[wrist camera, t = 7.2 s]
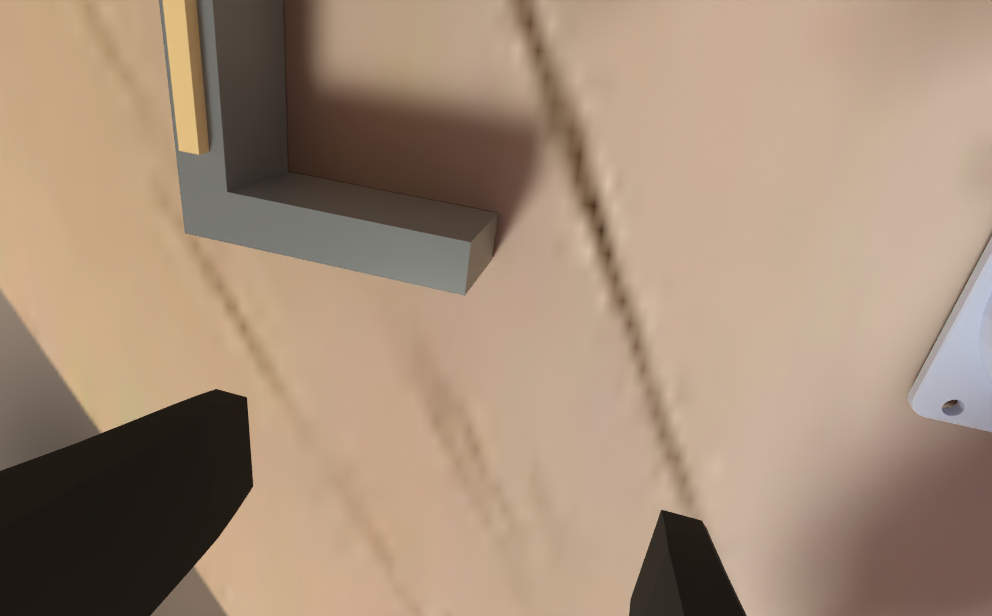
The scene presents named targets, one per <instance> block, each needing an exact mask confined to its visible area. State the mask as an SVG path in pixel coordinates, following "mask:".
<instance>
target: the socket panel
mask: <svg viewBox="0 0 992 616" xmlns="http://www.w3.org/2000/svg"><path fill="white" fill-rule="evenodd" d="M159 5H160V14H161V23H162V32H163V41H164V50H165V59H166V68H167V77H168V86H169V95H170V104H171V112H172V121H173V130H174V139H175V148H176V157H177V166H178V175H179V184H180V193H181V202H182V211H183V220H184V229H185V233H186V234H191V235H195V236H200V237H204V238H209V239H213V240H218V241H222V242H227V243H231V244H236V245H240V246H245V247H249V248H254V249H258V250H263V251H267V252H272V253H276V254H281V255H285V256H290V257H294V258H299V259H303V260H308V261H312V262H317V263H321V264H326V265H330V266H335V267H339V268H344V269H348V270H353V271H357V272H362V273H366V274H371V275H375V276H380V277H384V278H389V279H393V280H397V281H402V282H406V283H411V284H415V285H420V286H424V287H429V288H433V289H438V290H442V291H447V292H451V293H456V294H460V295H465V294H466V293H467V292H468V290H469V289H470V288H471V287H472V285H473V284H474V283H475V281H476V280H477V279H478V277H479V276H480V275H481V273H482V272H483V271H484V269H485V268H486V267H487V265H488V264H489V263H490V261H491V260H492V256H493V249H494V241H495V234H496V226H497V219H498V213H495V212H490V211H485V210H480V209H475V208H470V207H465V206H459V205H454V204H449V203H444V202H439V201H434V200H429V199H424V198H419V197H414V196H409V195H404V194H398V193H393V192H388V191H383V190H378V189H373V188H368V187H363V186H358V185H353V184H348V183H342V182H337V181H332V180H327V179H322V178H317V177H312V176H307V175H302V174H297V173H292V172H288V151H287V116H286V81H285V46H284V11H283V0H159Z"/></svg>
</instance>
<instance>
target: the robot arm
mask: <svg viewBox="0 0 992 616" xmlns="http://www.w3.org/2000/svg"><path fill="white" fill-rule="evenodd" d="M907 399H908V402H909V405H910V406H911V407H912V409H913V410H914V411H915V412H916V413H917V414H918V415H921V416H923V417H926V418H930V419H935V420H939V421H944V422H948V423H952V424H957V425H961V426H966V427H970V428H974V429H979V430H983V431H988V432H992V237H991V239H990V241H989V242H988V244H987V246H986V248H985V250H984V252H983V254H982V256H981V258H980V259H979V261H978V263H977V265H976V267H975V269H974V271H973V273H972V275H971V276H970V278H969V280H968V282H967V284H966V286H965V288H964V290H963V291H962V293H961V295H960V297H959V299H958V301H957V303H956V305H955V307H954V308H953V310H952V312H951V314H950V316H949V318H948V320H947V322H946V324H945V325H944V327H943V329H942V331H941V333H940V335H939V337H938V339H937V341H936V342H935V344H934V346H933V348H932V350H931V352H930V354H929V356H928V358H927V359H926V361H925V363H924V365H923V367H922V369H921V371H920V373H919V374H918V376H917V378H916V380H915V382H914V384H913V386H912V388H911V390H910V391H909V394H908V398H907ZM950 400H957V403H956V404H955V405H954V406H952V407H950V408H942V406H943V405H944V404H945V403H946V402H947V401H950ZM252 487H253V477H252V463H251V449H250V435H249V421H248V407H247V397H243V396H240V395H236V394H232V393H229V392H225V391H221V390H218V389H215V390H212V391H209V392H206V393H203V394H200V395H198V396H195V397H192V398H189V399H187V400H184V401H182V402H179V403H176V404H174V405H171V406H169V407H166V408H164V409H161V410H159V411H156V412H154V413H151V414H149V415H146V416H144V417H141V418H139V419H136V420H134V421H131V422H129V423H126V424H124V425H121V426H119V427H116V428H114V429H111V430H109V431H106V432H104V433H101V434H98V435H96V436H93V437H91V438H88V439H86V440H84V441H81V442H78V443H76V444H73V445H71V446H68V447H65V448H62V449H60V450H57V451H54V452H51V453H49V454H46V455H43V456H41V457H38V458H35V459H32V460H30V461H27V462H24V463H21V464H18V465H16V466H13V467H10V468H7V469H5V470H2V471H0V616H150V615H151V614H152V613H153V612H154V611H155V609H156V608H157V607H158V606H159V605H160V604H161V603H162V601H163V600H164V599H165V598H166V597H167V596H168V595H169V594H170V592H171V591H172V590H173V589H174V588H175V587H176V586H177V584H179V582H180V581H181V580H182V579H183V578H184V577H185V575H186V574H187V573H188V572H189V571H190V570H191V569H192V567H193V566H194V565H195V564H196V563H197V562H198V561H199V559H200V558H201V557H202V556H203V555H204V554H205V553H206V551H207V550H208V549H209V548H210V547H211V546H212V544H213V543H214V542H215V541H216V540H217V538H218V537H219V536H220V534H221V533H222V532H223V530H224V529H225V527H226V526H227V525H228V523H229V522H230V520H231V519H232V517H233V516H234V515H235V513H236V512H237V510H238V509H239V507H240V506H241V504H242V503H243V501H244V499H245V498H246V496H247V495H248V493H249V492H250V490H251V489H252ZM629 616H747V615H746V613H745V611H744V609H743V607H742V605H741V603H740V601H739V599H738V597H737V595H736V593H735V591H734V588H733V586H732V584H731V582H730V580H729V578H728V576H727V573H726V571H725V569H724V567H723V565H722V562H721V560H720V558H719V556H718V553H717V551H716V549H715V547H714V544H713V542H712V540H711V538H710V535H709V533H708V531H707V528H706V527H705V525H704V524H703V522H702V521H701V520H697V519H694V518H690V517H686V516H683V515H679V514H675V513H672V512H668V511H664V510H661V512H660V515H659V518H658V521H657V524H656V527H655V530H654V533H653V536H652V539H651V542H650V545H649V547H648V550H647V553H646V556H645V559H644V562H643V565H642V568H641V571H640V574H639V577H638V579H637V582H636V585H635V588H634V591H633V594H632V597H631V602H630V613H629Z"/></svg>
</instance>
